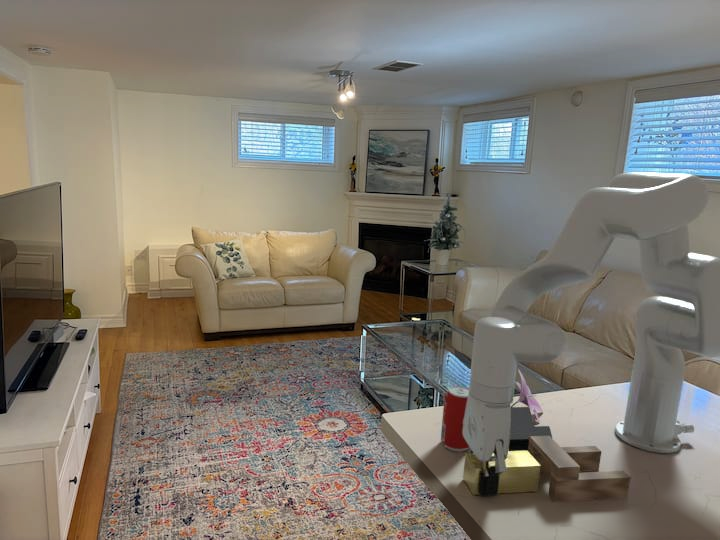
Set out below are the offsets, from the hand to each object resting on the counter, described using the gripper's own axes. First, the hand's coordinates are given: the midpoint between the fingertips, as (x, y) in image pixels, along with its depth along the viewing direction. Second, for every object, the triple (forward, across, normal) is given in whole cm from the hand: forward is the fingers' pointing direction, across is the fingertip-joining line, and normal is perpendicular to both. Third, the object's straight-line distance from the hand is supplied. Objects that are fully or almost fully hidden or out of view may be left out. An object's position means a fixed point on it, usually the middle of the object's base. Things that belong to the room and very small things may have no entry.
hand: (481, 483), depth 92 cm
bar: (0, 0, +3) cm, 3 cm away
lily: (+1, -26, +21) cm, 34 cm away
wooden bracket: (+1, 0, +18) cm, 18 cm away
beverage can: (+1, -14, 0) cm, 14 cm away
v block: (+1, -14, +13) cm, 19 cm away
